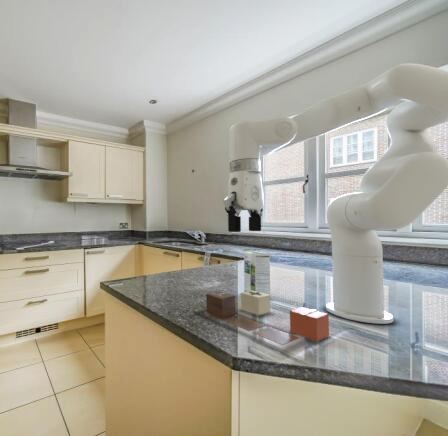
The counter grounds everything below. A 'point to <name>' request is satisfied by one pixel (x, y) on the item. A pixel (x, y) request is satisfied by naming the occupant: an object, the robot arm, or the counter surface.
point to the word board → (266, 333)
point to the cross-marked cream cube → (255, 302)
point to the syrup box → (257, 272)
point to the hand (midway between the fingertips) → (245, 231)
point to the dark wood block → (220, 304)
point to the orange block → (309, 323)
